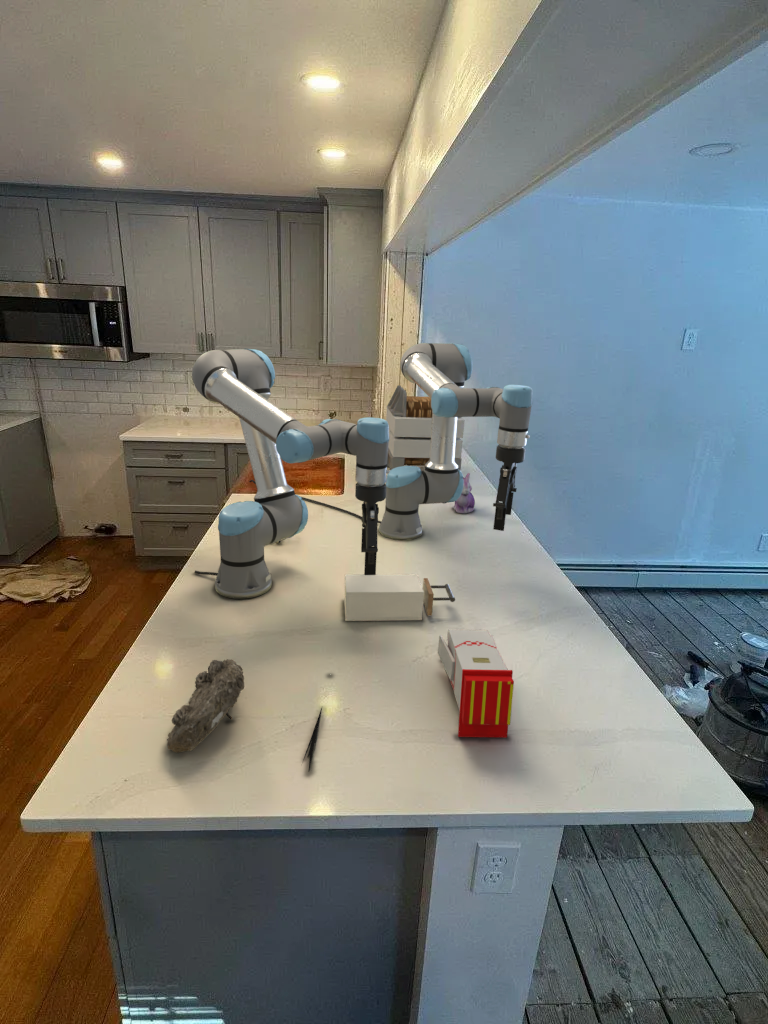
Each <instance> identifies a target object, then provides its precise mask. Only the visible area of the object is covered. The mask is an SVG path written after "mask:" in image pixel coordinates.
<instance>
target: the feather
mask: <svg viewBox="0 0 768 1024" xmlns="http://www.w3.org/2000/svg"><path fill="white" fill-rule="evenodd" d="M329 675H330V676H331V675H332V674H331V673H330V674H329ZM322 710H323V707H321V708H320V710H319V713H318V716H317V719H316V723H315V725H314V728H313V731H312V733H311V737H310V739H309V742H308V745H307V748H306V751H305V754H304V757H303V760H302V763H301V767H302V765H303V763H304V761H305V758H308V759H309V760H308V762H307V763H308V764H307V766H308V771H310V770H311V766H312V765H311V764H312V760H313V757H315V756H314V755H315V751H316V749H315V746H317V739H318V733H319V729H320V722H321V717H322V712H323V711H322ZM313 754H314V755H313ZM306 755H307V757H306Z"/></svg>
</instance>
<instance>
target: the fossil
mask: <svg viewBox="0 0 768 1024" xmlns="http://www.w3.org/2000/svg"><path fill="white" fill-rule="evenodd" d="M243 670H244V669H243V667H242V665H240V664H237V662H236V661H235V660H234V659H232V658H231V659H227V658H226V659H224V660H223V661H222V660H217V659H212V660H211V661H210V663H209V665H208V666H207V671H201V672H199V673H198V674H197V675H196V676H195V680H194V684H195V685H194V687H195V689H194V690H193V693H192V694H191V697H190V698H189V700H188V704H184V705H182V706H181V707H180V709H177V710H176V711H175V713H174V715H173V716H172V718H171V723H172V724H173V727H172V730H171V731H170V732H168V734H167V738H166V741H167V742H166V745H167V749H168V750H169V751H173V752H174V753H176V754H178V753H182V752H188V751H189V752H192V751H193V750H195V748H196V747H197V746H199V744H200V743H201V742H203V741H204V740H205V739H206V738H207V737H208V736H209V735H210V734H211V733H212V732H214V730H215V729H217V727H218V726H219V724H220V722H221V721H222V720H223V719H224V718H225V716H226V717H227V719H229V720H233V717H232V715H230V714H229V710H230V709H231V708H234V706H235V704H236V703H237V702H238V699H239V697H240V695H241V693H242V691H243V690H245V689H244V688H245V675H244V671H243Z"/></svg>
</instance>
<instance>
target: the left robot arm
mask: <svg viewBox="0 0 768 1024" xmlns="http://www.w3.org/2000/svg"><path fill="white" fill-rule="evenodd" d="M192 366H193V367H192V369H191V378H192V382H193V386H194V387H195V389H196V390H197V392H198V393H199V394H200V395H201V396H202V397H203V398H204V399H206V400H207V401H209V402H210V403H212V404H214V405H220V406H223V407H224V408H225V409H226V410H228V411H229V412H230V413H232V414H233V415H234V416H236V417H238V419H239V423H240V427H241V430H242V435H243V439H244V442H245V447H246V451H247V455H248V459H249V463H250V467H251V471H252V474H253V478H254V479H253V480H254V481H255V483H256V484H255V487H256V490H257V491H256V493H255V495H254V497H253V500H244V501H235V502H233V503H230V504H228V505H225V507H223V508H222V509H221V510H220V512H219V513H218V524H217V530H218V537H219V554H220V564H219V567H218V571H217V572H214V571H213V572H212V571H201V570H200V571H199V570H194V574H197V575H201V576H203V575H204V576H206V575H207V576H216V578H215V581H214V582H215V583H214V585H215V586H214V587H215V591H216V593H217V594H219V596H222V597H224V598H228V599H235V600H244V599H245V600H246V599H252V598H256V597H259V596H262V595H264V594H266V593H267V592H269V591H270V589H271V588H272V586H273V582H272V581H273V579H272V573H270V570H269V568H268V565H267V563H266V560H265V547H267V546H269V545H272V544H275V543H278V542H279V541H280V540H281V541H282V540H286V539H291V538H292V537H294V536H296V535H298V534H300V533H302V532H303V531H304V530H305V528H306V526H307V524H308V521H309V509H308V506H307V503H306V502H305V501H306V500H304V499H302V498H301V497H302V496H301V495H298V494H296V492H295V488H293V487H292V486H291V485H289V484H288V482H287V478H286V477H287V476H286V473H285V468H284V465H283V462H284V463H287V464H299V463H301V464H302V463H305V462H308V461H312V460H315V459H319V458H323V457H328V456H332V455H336V454H346V455H351V456H355V482H356V483H355V488H354V489H355V493H354V495H355V499H356V500H358V501H360V502H363V503H361V517H362V519H361V527H362V528H361V543H360V544H361V546H360V547H361V548H360V549H361V550H360V552H361V553H364V572H363V574H364V575H376V574H377V554H378V551H379V547H378V524H379V523H378V521H379V512H380V509H379V504H378V503H379V502H383V501H385V500H386V481H387V474H389V472H390V469H388V467H387V457H388V445H389V424H388V422H387V421H386V419H384V418H381V417H372V416H371V417H370V416H369V417H361V418H359V419H357V423H353V422H349V421H343V420H340V419H337V418H334V419H332V418H326V419H323V420H322V421H320V423H319V424H316V425H310V426H307V425H305V424H304V423H302V422H301V421H299V420H298V419H296V418H295V417H293V416H292V415H290V414H289V413H287V412H286V411H285V410H284V409H282V408H281V407H279V406H277V405H276V404H274V403H272V401H270V400H269V399H270V397H271V396H272V392H271V389H272V388H273V386H274V384H275V379H276V371H275V368H274V365H273V362H272V361H271V359H270V358H269V356H268V355H267V354H265V353H264V352H263V351H261V350H259V349H251V348H237V349H212V350H209V351H205V352H204V353H203V354H201V355H200V356H198V358H197V359H196V360H195V362H194V364H193V365H192Z"/></svg>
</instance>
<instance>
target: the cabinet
mask: <svg viewBox="0 0 768 1024" xmlns="http://www.w3.org/2000/svg"><path fill="white" fill-rule="evenodd" d="M343 593H344V594H343V595H344V598H343V599H344V600H343V601H344V602H343V603H344V620H345V622H363V621H364V622H367V621H368V622H369V621H372V622H373V621H374V622H375V621H381V622H382V621H422V620H423V608H424V607H423V606H424V603H423V596H424V591H423V584H422V583H421V580H420V576H419V574H418V573H376V575H364V573H345V574H344V592H343Z"/></svg>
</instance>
